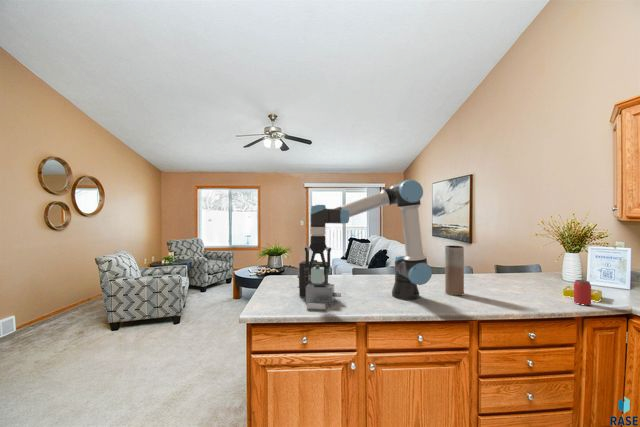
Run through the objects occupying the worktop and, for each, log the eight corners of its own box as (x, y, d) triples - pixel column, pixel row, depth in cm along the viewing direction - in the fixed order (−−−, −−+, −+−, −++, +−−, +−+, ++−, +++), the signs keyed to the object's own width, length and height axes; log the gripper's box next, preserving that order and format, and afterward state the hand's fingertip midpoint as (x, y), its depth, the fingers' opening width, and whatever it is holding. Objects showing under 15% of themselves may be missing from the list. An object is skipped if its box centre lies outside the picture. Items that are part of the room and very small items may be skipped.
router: (328, 298, 161) (328, 262, 161) (296, 296, 165) (296, 261, 165) (330, 294, 169) (330, 260, 169) (300, 292, 173) (300, 259, 173)
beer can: (587, 307, 145) (587, 283, 145) (571, 303, 150) (571, 280, 151) (593, 305, 148) (593, 281, 148) (577, 301, 154) (577, 279, 154)
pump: (323, 280, 148) (323, 264, 148) (321, 283, 142) (321, 266, 142) (314, 280, 149) (314, 263, 149) (311, 283, 143) (311, 265, 143)
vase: (464, 292, 171) (464, 246, 171) (462, 296, 163) (462, 247, 163) (446, 290, 176) (446, 245, 176) (444, 294, 168) (443, 246, 168)
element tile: (599, 303, 151) (599, 294, 151) (562, 297, 163) (562, 289, 163) (602, 298, 161) (602, 289, 161) (567, 292, 172) (567, 284, 172)
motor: (341, 301, 155) (341, 278, 155) (338, 311, 139) (338, 286, 139) (309, 299, 158) (308, 277, 158) (301, 309, 142) (301, 285, 142)
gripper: (336, 235, 148) (336, 280, 147) (302, 234, 151) (302, 278, 151) (334, 236, 140) (334, 283, 140) (298, 235, 143) (298, 282, 143)
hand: (317, 281), depth 145 cm, fingers closed on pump, 5 cm apart
